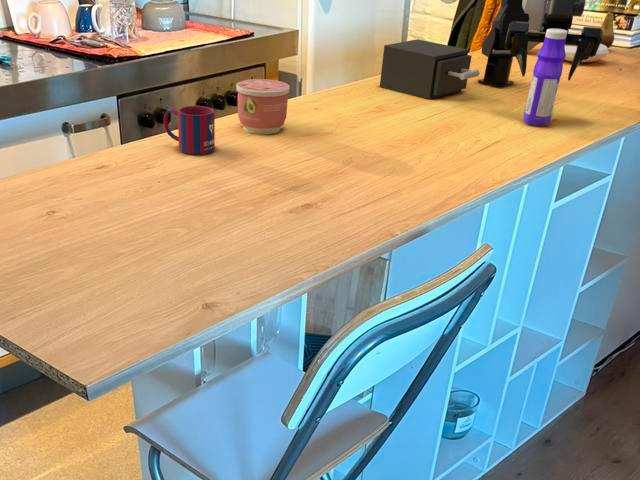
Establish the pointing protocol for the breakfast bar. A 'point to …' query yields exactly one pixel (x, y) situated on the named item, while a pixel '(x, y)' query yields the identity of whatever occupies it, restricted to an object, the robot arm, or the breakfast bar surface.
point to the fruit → (608, 30)
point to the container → (262, 105)
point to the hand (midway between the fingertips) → (546, 77)
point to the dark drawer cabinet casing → (414, 66)
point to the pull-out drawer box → (452, 74)
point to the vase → (600, 54)
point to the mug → (194, 129)
